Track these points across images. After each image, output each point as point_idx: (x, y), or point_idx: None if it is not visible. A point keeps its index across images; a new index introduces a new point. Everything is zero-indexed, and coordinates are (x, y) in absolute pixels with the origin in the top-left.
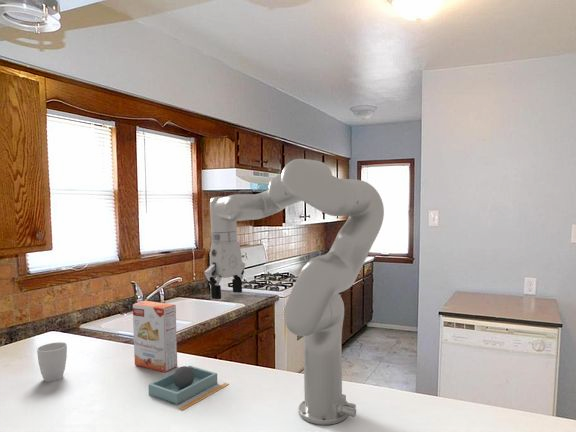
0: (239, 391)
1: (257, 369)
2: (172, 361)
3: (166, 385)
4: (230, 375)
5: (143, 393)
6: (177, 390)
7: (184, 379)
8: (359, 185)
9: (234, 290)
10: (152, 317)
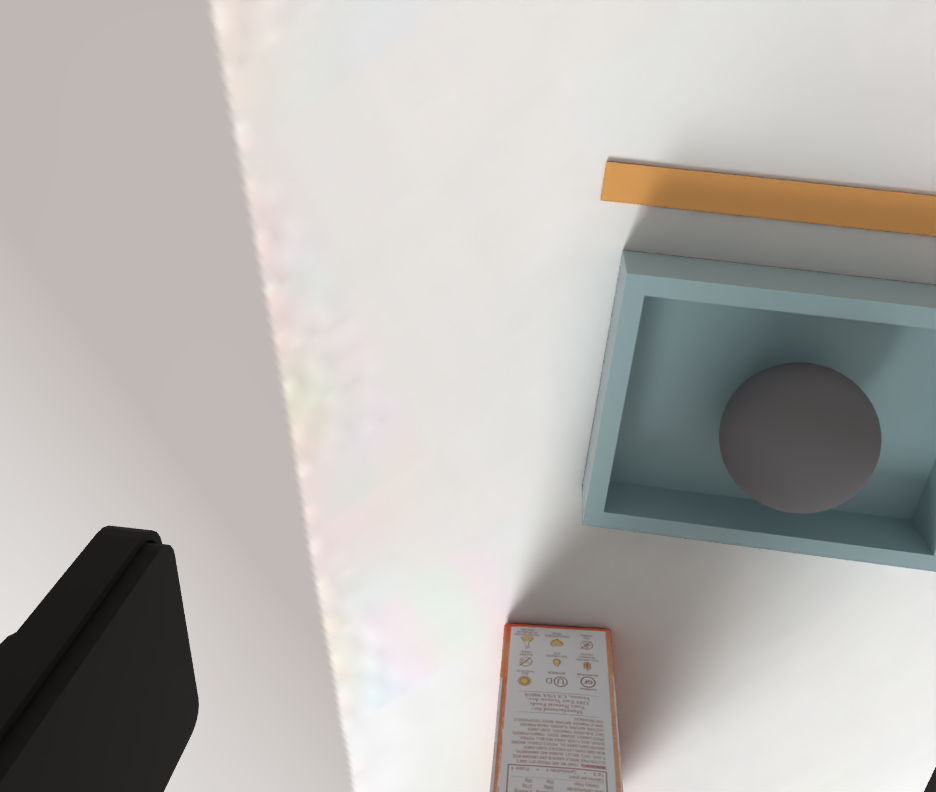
0: (683, 6)
1: (276, 112)
2: (548, 656)
3: None
4: (467, 242)
5: None
6: None
7: (866, 398)
8: None
9: (177, 709)
10: None
